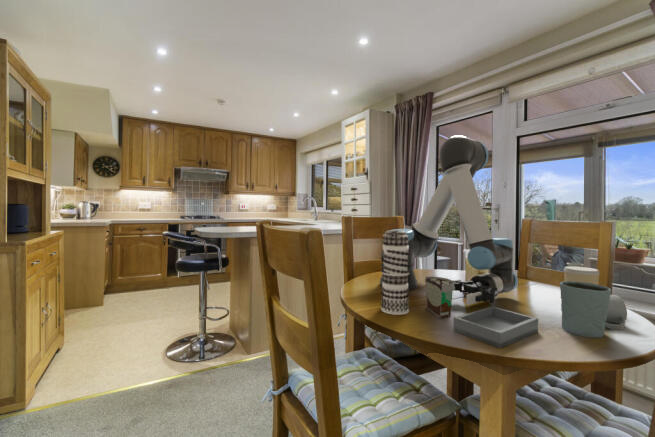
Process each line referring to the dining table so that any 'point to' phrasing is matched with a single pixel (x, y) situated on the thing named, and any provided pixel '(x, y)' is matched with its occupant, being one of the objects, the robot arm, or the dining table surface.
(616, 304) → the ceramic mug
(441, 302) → the food container
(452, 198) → the robot arm
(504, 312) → the tray
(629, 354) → the dining table surface
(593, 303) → the teal tapered cylinder
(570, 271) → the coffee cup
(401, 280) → the decorative candle
